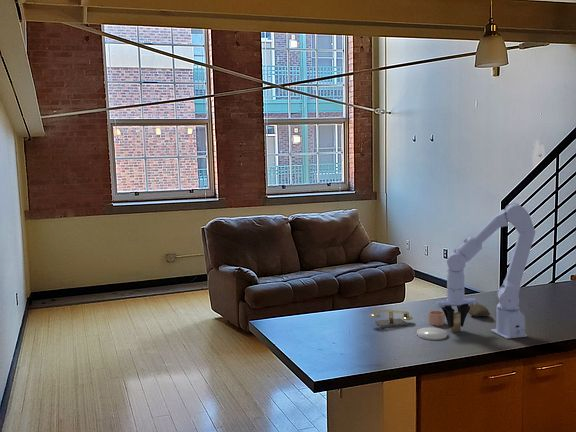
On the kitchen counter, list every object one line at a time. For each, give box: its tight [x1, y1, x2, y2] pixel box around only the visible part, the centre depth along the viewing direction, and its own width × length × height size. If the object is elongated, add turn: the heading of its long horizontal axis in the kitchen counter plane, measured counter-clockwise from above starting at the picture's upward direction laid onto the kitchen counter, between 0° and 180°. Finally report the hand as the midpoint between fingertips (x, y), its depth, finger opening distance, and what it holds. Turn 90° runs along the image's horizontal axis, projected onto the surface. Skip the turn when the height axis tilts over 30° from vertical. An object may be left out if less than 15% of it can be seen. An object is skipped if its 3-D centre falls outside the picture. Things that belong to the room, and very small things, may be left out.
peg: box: [450, 310, 462, 333], centre depth 204 cm, size 3×3×6 cm
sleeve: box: [428, 310, 446, 327], centre depth 213 cm, size 6×6×4 cm
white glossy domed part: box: [416, 326, 448, 341], centre depth 200 cm, size 10×10×1 cm
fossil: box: [468, 301, 491, 318], centre depth 221 cm, size 9×4×10 cm
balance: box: [368, 308, 414, 329], centre depth 213 cm, size 6×17×6 cm, turn 103°
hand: (455, 326), depth 204 cm, fingers open, 3 cm apart
